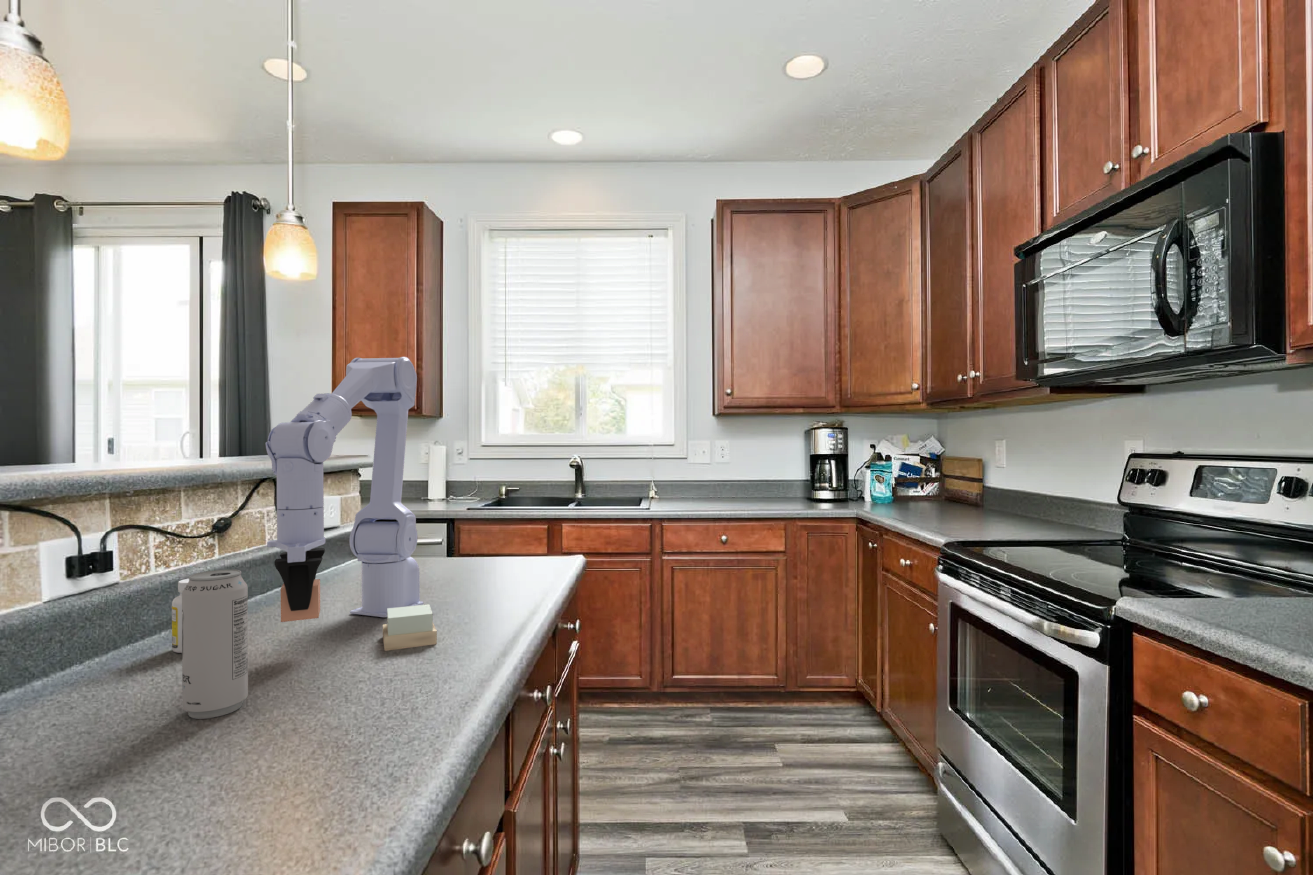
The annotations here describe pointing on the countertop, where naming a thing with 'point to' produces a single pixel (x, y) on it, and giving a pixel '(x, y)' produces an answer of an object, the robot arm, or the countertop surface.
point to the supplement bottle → (177, 618)
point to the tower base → (408, 639)
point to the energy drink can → (214, 643)
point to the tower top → (409, 619)
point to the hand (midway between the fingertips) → (301, 605)
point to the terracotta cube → (301, 614)
